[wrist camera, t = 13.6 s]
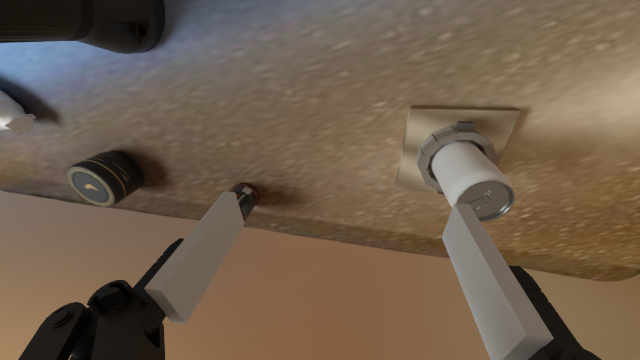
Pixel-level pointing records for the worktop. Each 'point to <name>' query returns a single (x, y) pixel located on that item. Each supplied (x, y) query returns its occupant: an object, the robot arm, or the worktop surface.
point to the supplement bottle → (245, 198)
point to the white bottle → (13, 115)
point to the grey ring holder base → (449, 139)
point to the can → (472, 179)
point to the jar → (105, 178)
